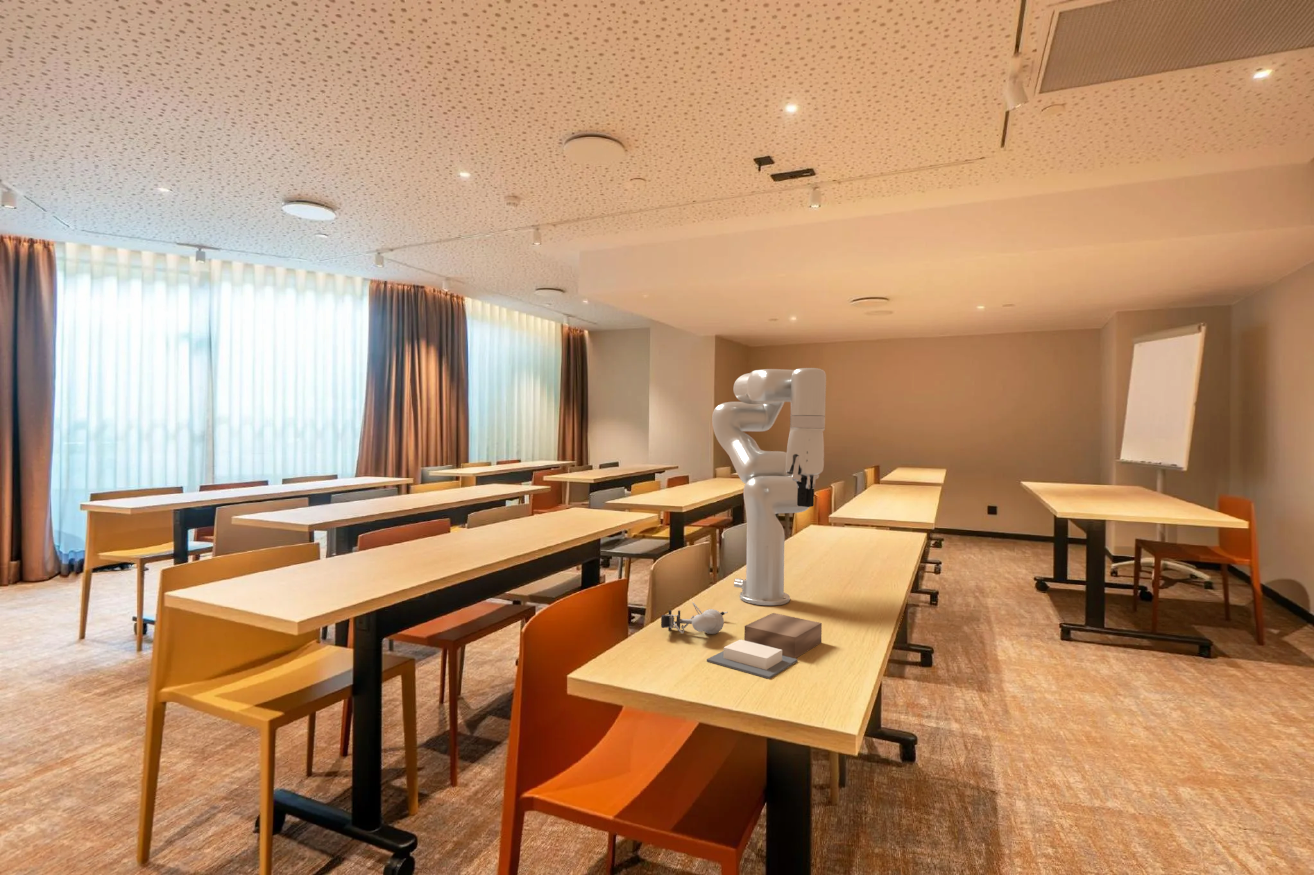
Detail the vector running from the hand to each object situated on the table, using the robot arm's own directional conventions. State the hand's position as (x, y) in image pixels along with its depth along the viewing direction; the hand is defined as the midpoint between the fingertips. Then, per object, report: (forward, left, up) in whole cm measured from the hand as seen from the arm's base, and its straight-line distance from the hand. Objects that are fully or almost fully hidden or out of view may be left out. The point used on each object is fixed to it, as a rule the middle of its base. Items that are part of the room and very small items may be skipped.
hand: (805, 506), depth 140 cm
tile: (+3, -28, -24) cm, 37 cm away
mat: (+3, -28, -26) cm, 38 cm away
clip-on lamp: (-16, -19, -27) cm, 36 cm away
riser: (+3, -15, -26) cm, 31 cm away
